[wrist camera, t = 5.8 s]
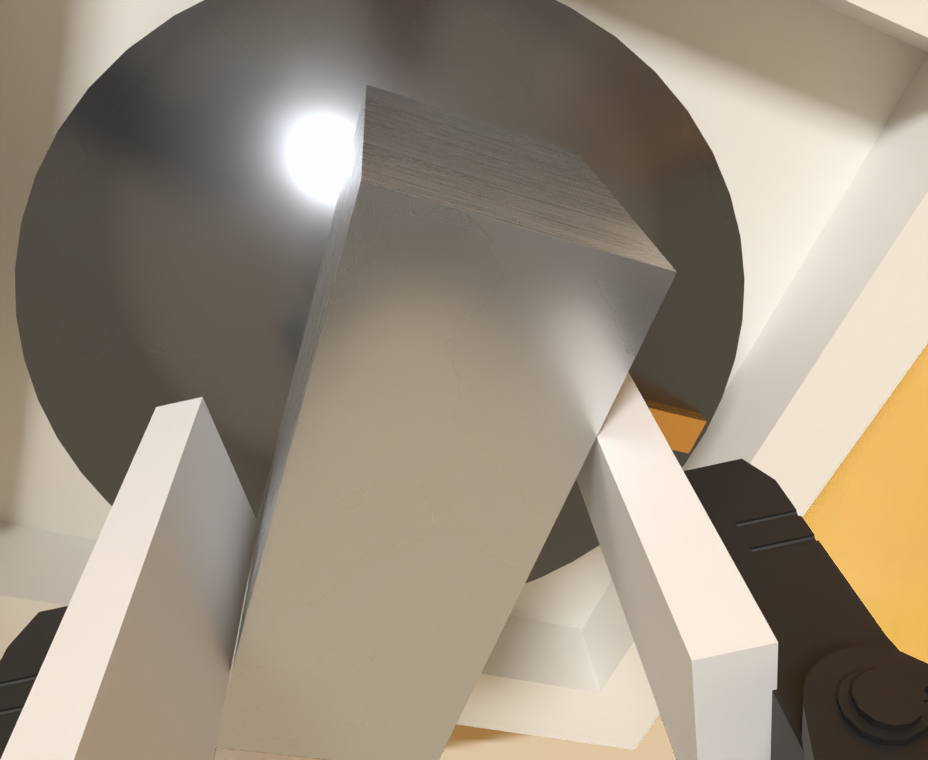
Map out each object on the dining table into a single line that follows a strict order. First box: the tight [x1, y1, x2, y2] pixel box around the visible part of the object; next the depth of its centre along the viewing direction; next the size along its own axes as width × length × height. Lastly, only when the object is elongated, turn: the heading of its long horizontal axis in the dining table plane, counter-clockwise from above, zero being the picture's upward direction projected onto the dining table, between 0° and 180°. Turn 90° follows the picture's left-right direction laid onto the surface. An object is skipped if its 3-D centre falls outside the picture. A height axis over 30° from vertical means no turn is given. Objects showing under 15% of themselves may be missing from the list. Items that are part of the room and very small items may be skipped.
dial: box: [15, 0, 745, 760], centre depth 13 cm, size 13×13×7 cm
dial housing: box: [0, 0, 928, 750], centre depth 16 cm, size 20×20×4 cm
